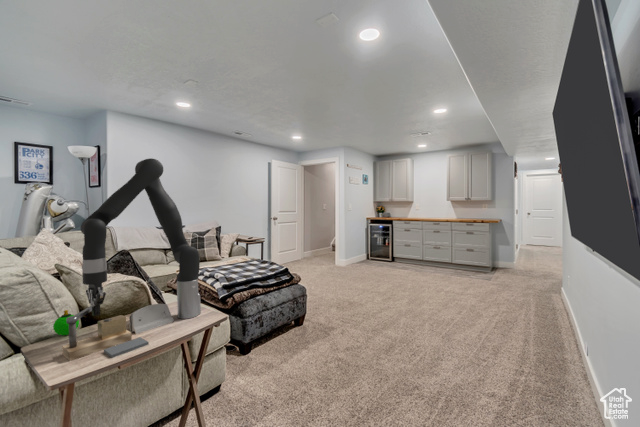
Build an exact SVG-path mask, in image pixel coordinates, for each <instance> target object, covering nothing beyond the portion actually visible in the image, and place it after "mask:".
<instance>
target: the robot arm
mask: <svg viewBox="0 0 640 427" xmlns="http://www.w3.org/2000/svg"><path fill="white" fill-rule="evenodd" d="M134 171H135V174H134V175H133V176H132V177H131V178H130V179H129V180H128V181H127V182H126V183H124V185H122V186H121V187H120V188H118V189H117V190H115V191H114V192H113V193H112V194H111V195H110V196H109V197H108V198H107V199H106V200H105V201H104V202H102V204H101V205H100V206H99V207H98V209H96V210H95V211H94V212H93V213H91V214H90V215H89V216H88V217H86V218H85V220H84V221H83V222H82V223H81V225H80V231H81V233H82V234H83V237H84V240H83V242H84V243H83V244H84V245H83V247H82V266H81V269H82V270H81V271H82V284H83V285H87V286H88V288H87V289H85V293H86V297H87V300H88V303H89V304H90V306H92V311H91V315H92V316H93V317H96V316H97V317H98V316H100V315H101V305H103V304H104V301H105V297H106V292H104V286H103V283H106V282H107V281H108V267H107V259H106V258H107V257H106V256H107V254H106V241H107V234H108V233H107V226H108V225H109V224H110V223H111V222H112V221H113V220H115V219H117V218H118V217H119V216H120V215H121V214H122V213H123V212H124V211H125V209H126V208H127V207H129V205H130V204H131V203H132V202H133V201H134V200H135V199H136V198H137V197H138V196H139V195H140V193H141V192H143V191H145V193H146V194H147V197H148V200H149V201H150V202H149V203H150V205H151V207H152V208H153V211H154V214H155V216H156V219H157V220H158V223H159V225H160V226H161V229H162V230H163V233H164V235H165V237H166V238H167V240H168V243H169V245H170V250H171V253H172V256H173V259H174V260H175V262H176V263H177V264H179V266H178V268H179V270H178V273H177V274H176V297H177V298H176V300H177V304H176V305H177V318H178V319H183V320H184V319H192V318H196V317H197V316H198V315H201V313H202V310H201V308H202V306H201V294H200V293H199V273H200V265H201V264H200V262H201V261H200V258H201V257H200V252H199V250H198V248H196V247H195V246H191V245H189V243H188V241H187V239H186V236H185V235H184V234H185V233H184V231H183V228H184V227H183V220H182V217H181V216H182V215H181V214H180V210H179V209H178V207H177V205H176V203H175V202H174V200H173V199H172V197H171V196H170V195H169V194H168V192H167V191H166V190H165V188H164V187H163V184H162V182H161V179H160V178H161V176H162V175H163V172H164V166H163V164H162V163H161V161H159V160H158V159H156V158H145V159H142V160H140V161H139V162H137V163H136V165H135V168H134Z"/></svg>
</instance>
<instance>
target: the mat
mask: <svg viewBox="0 0 640 427" xmlns="http://www.w3.org/2000/svg"><path fill="white" fill-rule="evenodd" d="M148 345H149V341H147V340H146V339H145V338H142V337H140V336H139V337H137V338H134V339H132V340H130V341H127V342H124V343H122V344H119V345H116V346H113V347H110V348H107V349H104V350H103V353H104V354H106V356H109V357H110V358H112V359H113V358H115V357H119V356H121V355H124V354H127V353H128V352H133V351H135V350H137V349H140V348H142V347H145V346H148Z"/></svg>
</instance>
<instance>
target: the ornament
mask: <svg viewBox="0 0 640 427" xmlns="http://www.w3.org/2000/svg"><path fill="white" fill-rule="evenodd" d="M71 316H74V314H71V313H69V310H68V309H66V310H63V314H62V315H61V316H60V317H58V318H57V319H56V320H55V321H54V323H53V324H52V325H53V326H52V327H53V331H54V333H56V335H59V336H69V324H67V320H66V318H68V317H71ZM79 326H80V320H79V319H78V321H77V322H76V330H77V329H78V328H79Z"/></svg>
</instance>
